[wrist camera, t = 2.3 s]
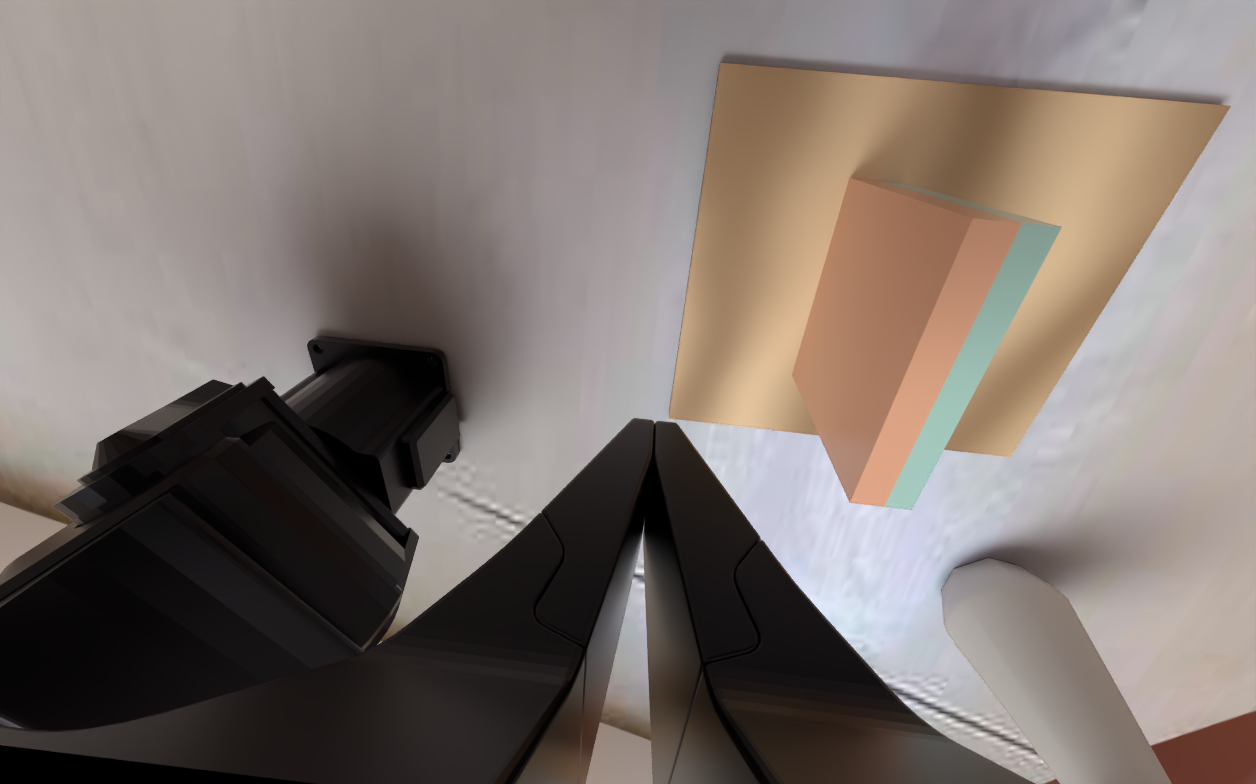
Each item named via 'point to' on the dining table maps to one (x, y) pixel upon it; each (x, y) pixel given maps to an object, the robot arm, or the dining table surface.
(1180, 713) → the dining table surface
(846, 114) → the cork mat
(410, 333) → the dining table surface
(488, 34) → the dining table surface
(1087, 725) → the salt shaker
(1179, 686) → the dining table surface
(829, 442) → the tile
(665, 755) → the robot arm
